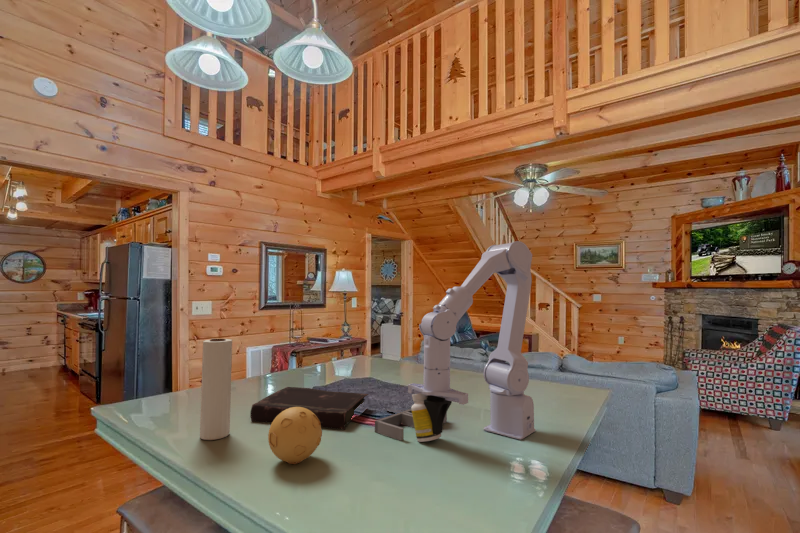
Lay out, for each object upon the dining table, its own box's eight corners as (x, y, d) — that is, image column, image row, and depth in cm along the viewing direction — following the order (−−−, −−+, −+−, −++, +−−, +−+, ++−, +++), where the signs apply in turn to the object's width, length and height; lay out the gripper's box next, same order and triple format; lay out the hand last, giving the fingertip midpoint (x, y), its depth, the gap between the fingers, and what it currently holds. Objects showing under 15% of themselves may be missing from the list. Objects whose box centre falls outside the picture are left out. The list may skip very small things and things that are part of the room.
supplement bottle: (439, 439, 83) (428, 391, 86) (414, 443, 85) (405, 396, 87) (444, 434, 88) (434, 389, 91) (420, 438, 90) (412, 393, 92)
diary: (344, 434, 93) (344, 412, 93) (249, 424, 99) (250, 404, 99) (369, 409, 111) (369, 391, 111) (288, 403, 117) (288, 385, 117)
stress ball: (274, 458, 79) (247, 439, 72) (302, 413, 85) (279, 391, 78) (311, 478, 74) (286, 459, 68) (338, 429, 80) (318, 406, 73)
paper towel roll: (223, 440, 86) (226, 341, 87) (194, 441, 86) (198, 341, 87) (235, 429, 93) (237, 337, 95) (208, 429, 93) (211, 337, 94)
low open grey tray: (446, 421, 99) (446, 395, 99) (401, 440, 86) (401, 410, 87) (395, 408, 110) (395, 384, 111) (348, 423, 98) (348, 396, 98)
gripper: (399, 366, 88) (398, 429, 87) (455, 374, 78) (454, 446, 77) (419, 362, 93) (418, 422, 92) (473, 370, 84) (473, 437, 82)
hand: (436, 432), depth 85 cm, fingers closed, pressing on supplement bottle
